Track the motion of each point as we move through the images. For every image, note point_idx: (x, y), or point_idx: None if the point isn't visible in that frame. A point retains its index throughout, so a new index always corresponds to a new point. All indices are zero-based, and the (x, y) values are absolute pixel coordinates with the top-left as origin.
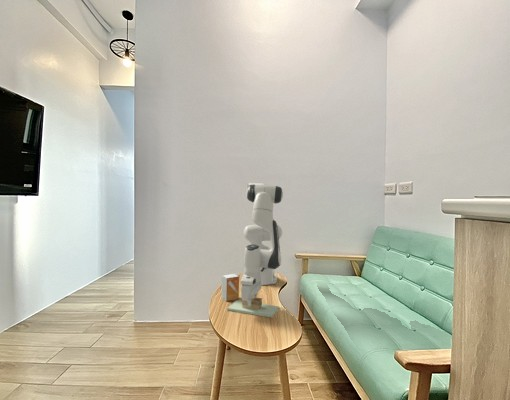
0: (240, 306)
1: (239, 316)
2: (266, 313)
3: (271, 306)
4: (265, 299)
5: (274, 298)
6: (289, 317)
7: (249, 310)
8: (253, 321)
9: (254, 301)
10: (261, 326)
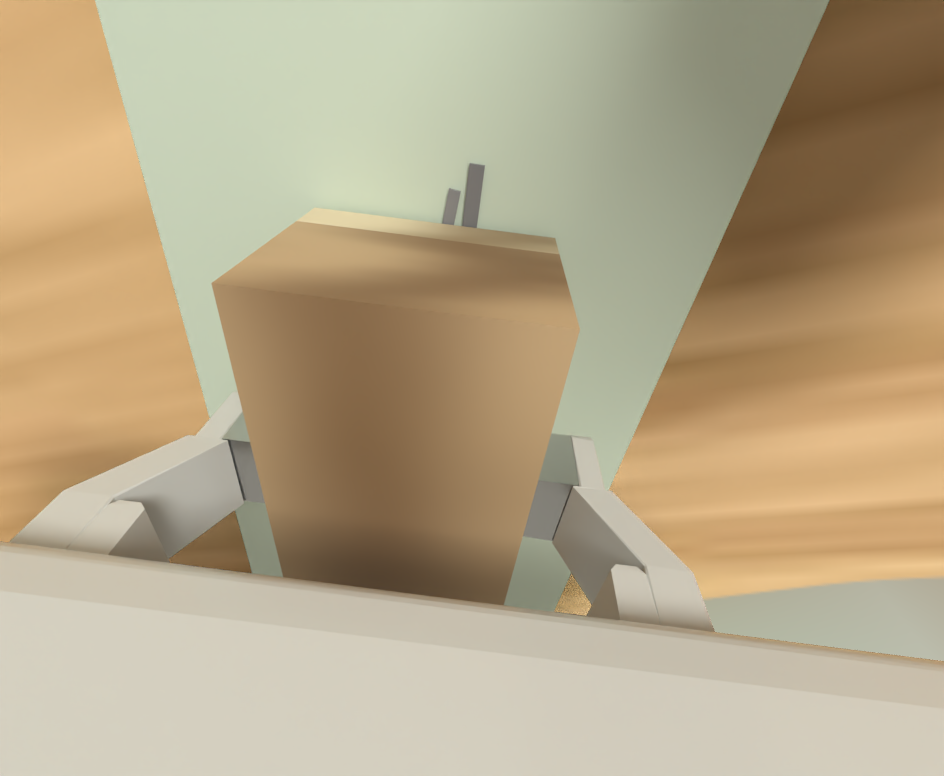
0: (357, 138)
1: (22, 225)
2: (274, 570)
3: (517, 595)
4: (913, 486)
5: (921, 573)
6: None
7: None
8: (50, 450)
9: (284, 559)
10: (17, 527)
